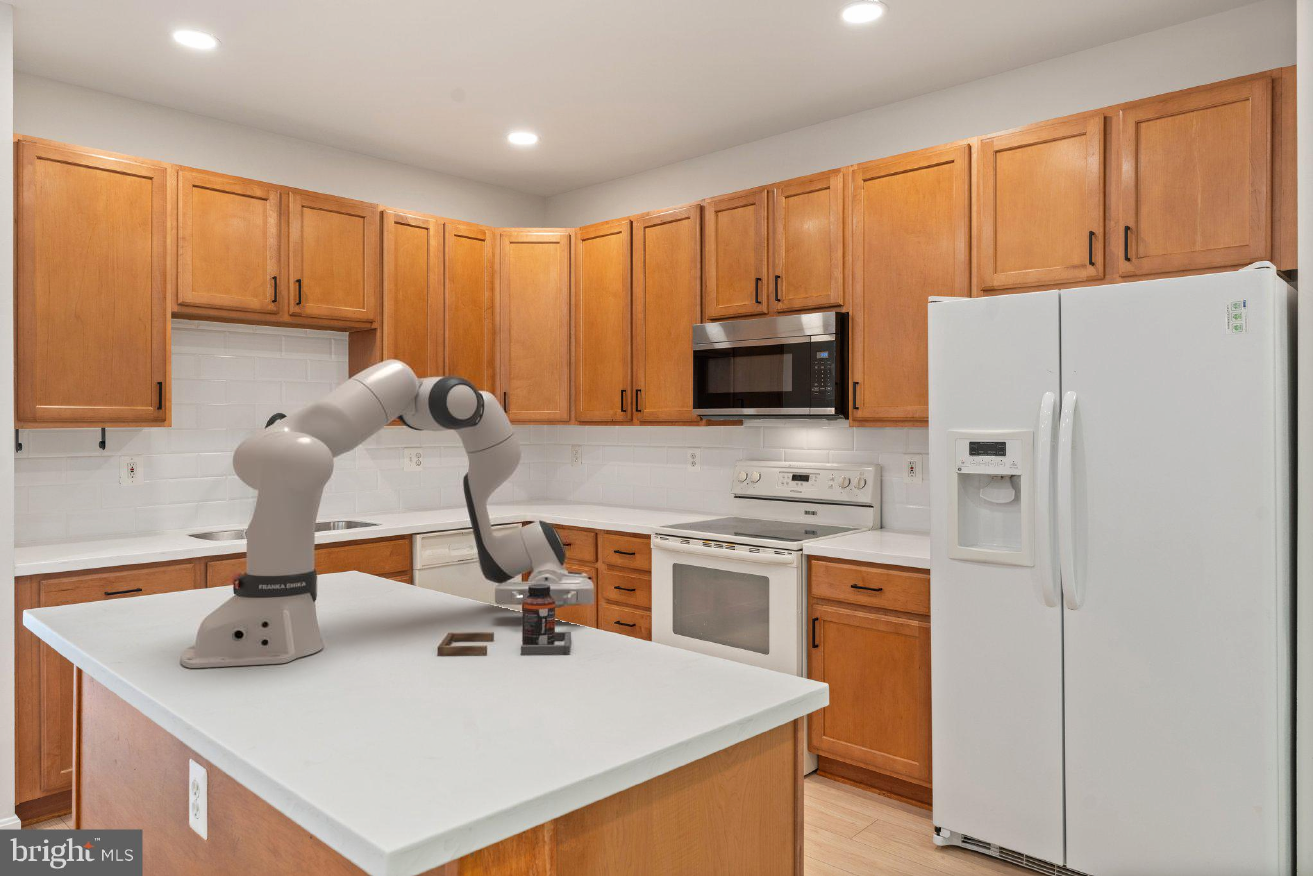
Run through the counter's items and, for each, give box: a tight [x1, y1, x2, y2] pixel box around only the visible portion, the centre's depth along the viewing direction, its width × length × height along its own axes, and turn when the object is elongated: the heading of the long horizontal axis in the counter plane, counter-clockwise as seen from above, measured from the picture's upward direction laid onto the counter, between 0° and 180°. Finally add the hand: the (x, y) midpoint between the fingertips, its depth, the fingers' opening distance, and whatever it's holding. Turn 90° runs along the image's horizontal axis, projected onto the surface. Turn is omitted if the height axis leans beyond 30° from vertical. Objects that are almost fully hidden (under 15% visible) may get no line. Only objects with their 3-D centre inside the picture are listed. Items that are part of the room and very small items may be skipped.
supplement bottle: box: [521, 584, 556, 645], centre depth 155 cm, size 6×6×11 cm
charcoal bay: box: [520, 631, 572, 656], centre depth 155 cm, size 8×11×2 cm
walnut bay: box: [436, 631, 495, 657], centre depth 154 cm, size 8×11×2 cm
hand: (542, 600), depth 167 cm, fingers open, 8 cm apart
